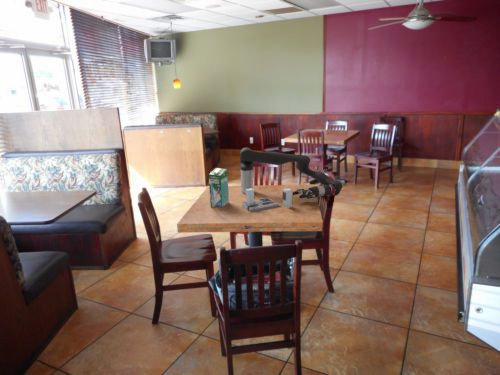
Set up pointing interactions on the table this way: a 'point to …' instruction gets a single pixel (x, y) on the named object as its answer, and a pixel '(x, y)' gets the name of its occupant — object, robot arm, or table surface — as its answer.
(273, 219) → the table surface
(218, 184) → the milk carton
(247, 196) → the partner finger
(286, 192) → the loose finger
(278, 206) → the rail board
